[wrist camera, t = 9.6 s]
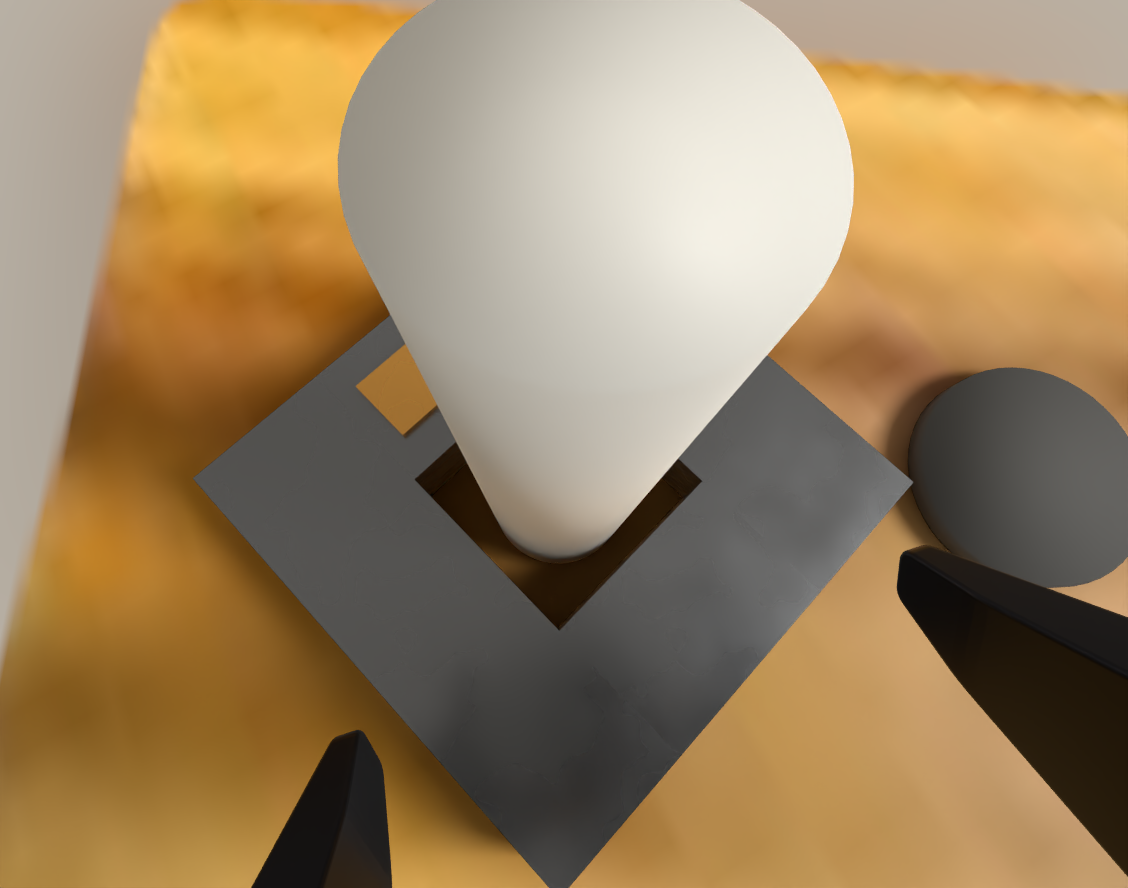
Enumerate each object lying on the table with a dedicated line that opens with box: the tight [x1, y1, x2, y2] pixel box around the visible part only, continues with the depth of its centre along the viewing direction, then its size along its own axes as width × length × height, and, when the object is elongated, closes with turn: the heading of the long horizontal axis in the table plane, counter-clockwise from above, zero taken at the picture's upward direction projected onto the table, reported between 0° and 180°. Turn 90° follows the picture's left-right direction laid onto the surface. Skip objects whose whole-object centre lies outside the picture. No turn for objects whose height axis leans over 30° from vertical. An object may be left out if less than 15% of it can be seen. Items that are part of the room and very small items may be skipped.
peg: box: [338, 0, 854, 563], centre depth 12 cm, size 4×4×15 cm
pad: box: [908, 368, 1128, 588], centre depth 19 cm, size 7×7×1 cm
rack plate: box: [193, 315, 913, 888], centre depth 18 cm, size 14×14×3 cm
